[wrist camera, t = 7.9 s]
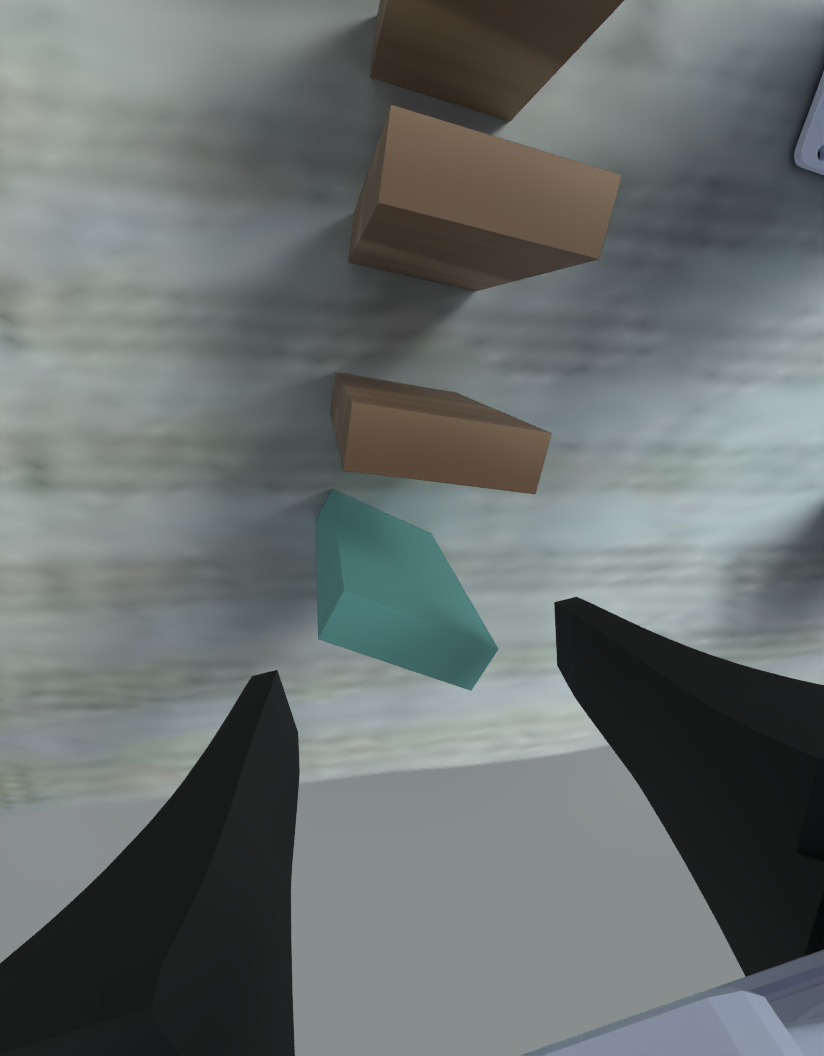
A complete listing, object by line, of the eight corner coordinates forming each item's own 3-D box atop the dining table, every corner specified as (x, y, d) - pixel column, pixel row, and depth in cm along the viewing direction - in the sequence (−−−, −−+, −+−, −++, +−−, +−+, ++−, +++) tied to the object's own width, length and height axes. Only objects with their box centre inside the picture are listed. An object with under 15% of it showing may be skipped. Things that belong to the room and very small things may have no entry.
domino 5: (335, 372, 19) (352, 402, 11) (455, 392, 20) (551, 433, 12) (330, 413, 20) (343, 470, 12) (448, 430, 21) (535, 494, 13)
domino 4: (354, 212, 17) (391, 105, 9) (485, 244, 19) (621, 175, 10) (348, 262, 18) (378, 202, 10) (476, 291, 19) (599, 259, 11)
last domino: (332, 488, 21) (344, 590, 13) (431, 533, 23) (498, 649, 14) (316, 520, 21) (318, 639, 13) (414, 562, 23) (471, 690, 15)
